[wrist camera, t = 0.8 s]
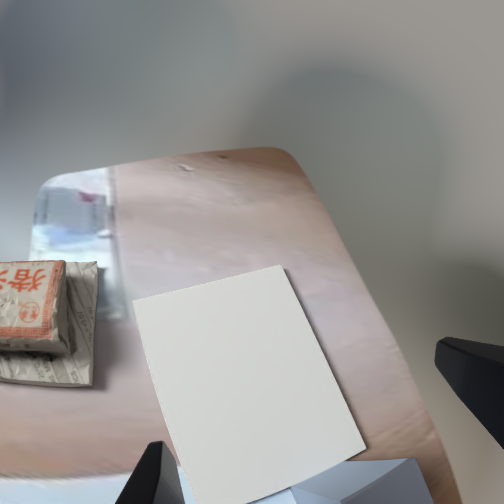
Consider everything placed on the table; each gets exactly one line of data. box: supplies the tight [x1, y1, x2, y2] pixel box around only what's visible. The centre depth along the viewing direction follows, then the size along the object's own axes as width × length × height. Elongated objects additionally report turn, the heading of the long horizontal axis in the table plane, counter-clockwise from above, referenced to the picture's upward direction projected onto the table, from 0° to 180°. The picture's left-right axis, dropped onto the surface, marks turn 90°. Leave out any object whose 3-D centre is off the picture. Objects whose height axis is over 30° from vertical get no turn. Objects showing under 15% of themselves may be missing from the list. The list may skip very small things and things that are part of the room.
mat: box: [132, 264, 366, 504], centre depth 21 cm, size 16×12×1 cm
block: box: [289, 458, 434, 504], centre depth 13 cm, size 4×4×9 cm
